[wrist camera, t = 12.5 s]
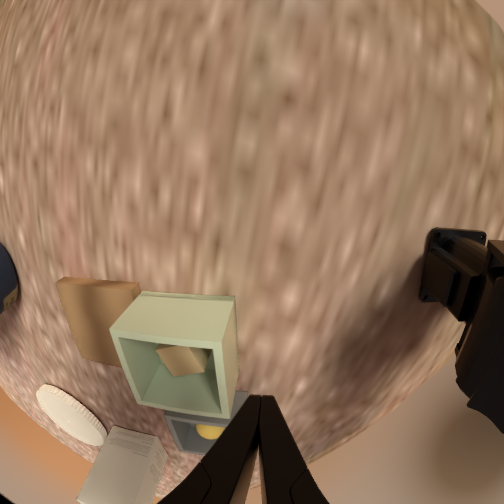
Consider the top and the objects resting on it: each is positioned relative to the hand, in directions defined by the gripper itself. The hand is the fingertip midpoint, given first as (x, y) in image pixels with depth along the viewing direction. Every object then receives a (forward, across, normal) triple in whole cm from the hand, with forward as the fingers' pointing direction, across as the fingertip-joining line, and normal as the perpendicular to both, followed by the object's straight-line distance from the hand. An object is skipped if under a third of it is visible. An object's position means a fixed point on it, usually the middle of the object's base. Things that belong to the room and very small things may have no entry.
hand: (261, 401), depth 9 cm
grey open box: (+13, +6, +18) cm, 23 cm away
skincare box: (+13, +19, +30) cm, 38 cm away
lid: (+14, +16, +7) cm, 22 cm away
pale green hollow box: (+13, +7, +7) cm, 16 cm away
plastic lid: (+14, +32, +28) cm, 45 cm away
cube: (+12, +7, +7) cm, 16 cm away
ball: (+12, +6, +18) cm, 23 cm away
